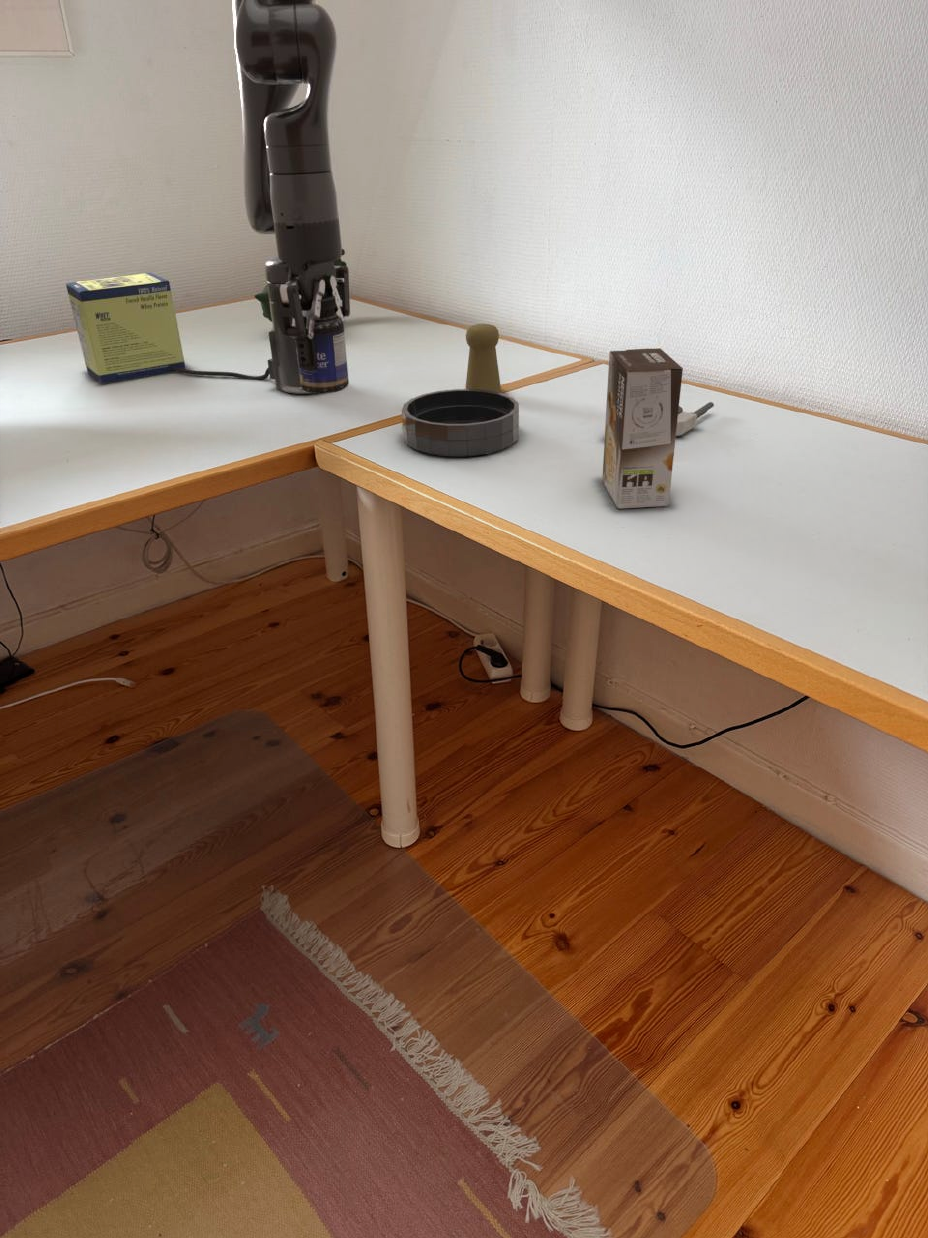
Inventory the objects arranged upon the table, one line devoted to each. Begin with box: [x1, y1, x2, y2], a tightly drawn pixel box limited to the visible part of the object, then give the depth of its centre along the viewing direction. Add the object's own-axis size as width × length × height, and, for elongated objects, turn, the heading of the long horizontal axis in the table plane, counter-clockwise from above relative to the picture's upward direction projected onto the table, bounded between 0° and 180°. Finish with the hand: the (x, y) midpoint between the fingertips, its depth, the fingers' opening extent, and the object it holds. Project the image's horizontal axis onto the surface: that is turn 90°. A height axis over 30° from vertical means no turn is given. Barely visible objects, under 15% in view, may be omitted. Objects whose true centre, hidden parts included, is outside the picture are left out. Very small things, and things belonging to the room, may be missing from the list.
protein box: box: [65, 272, 187, 385], centre depth 152 cm, size 10×16×16 cm
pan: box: [401, 388, 520, 458], centre depth 120 cm, size 16×16×5 cm
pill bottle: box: [295, 295, 350, 394], centre depth 106 cm, size 6×6×11 cm
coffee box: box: [601, 347, 684, 510], centre depth 99 cm, size 9×6×16 cm
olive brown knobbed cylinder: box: [464, 323, 502, 393], centre depth 135 cm, size 6×6×11 cm
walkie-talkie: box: [676, 401, 715, 437], centre depth 121 cm, size 9×4×20 cm
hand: (322, 361), depth 107 cm, fingers closed on pill bottle, 6 cm apart
